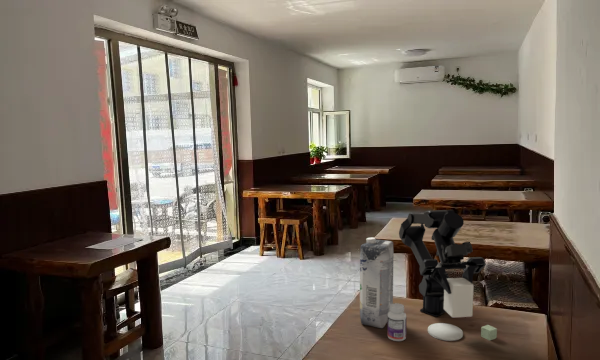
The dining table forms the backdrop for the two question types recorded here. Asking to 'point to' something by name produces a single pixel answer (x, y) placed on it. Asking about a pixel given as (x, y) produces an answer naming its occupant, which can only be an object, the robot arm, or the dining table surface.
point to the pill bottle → (397, 322)
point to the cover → (459, 298)
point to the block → (488, 332)
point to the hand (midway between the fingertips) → (460, 292)
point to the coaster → (445, 332)
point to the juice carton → (376, 281)
